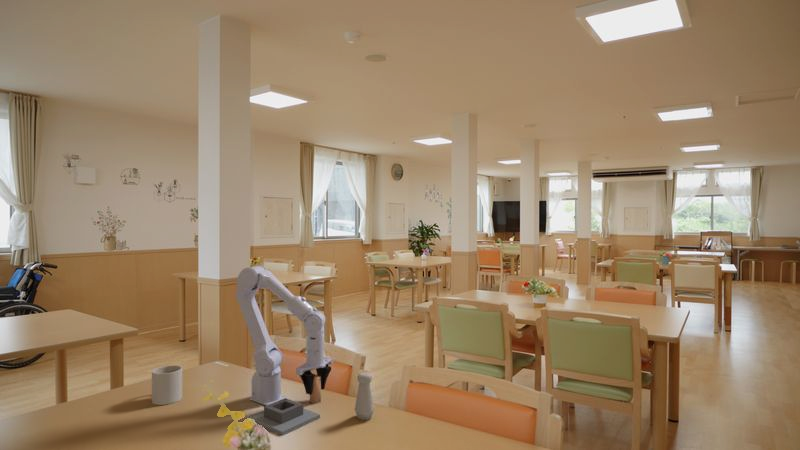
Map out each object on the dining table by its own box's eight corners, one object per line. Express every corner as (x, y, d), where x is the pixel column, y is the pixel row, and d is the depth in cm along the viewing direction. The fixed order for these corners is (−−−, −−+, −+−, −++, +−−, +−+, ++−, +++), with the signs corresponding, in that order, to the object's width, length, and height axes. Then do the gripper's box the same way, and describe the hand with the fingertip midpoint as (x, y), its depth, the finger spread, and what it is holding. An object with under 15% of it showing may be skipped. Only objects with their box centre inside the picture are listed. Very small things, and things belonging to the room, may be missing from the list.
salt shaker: (371, 422, 132) (371, 377, 132) (352, 420, 133) (352, 376, 133) (376, 414, 137) (376, 371, 137) (358, 412, 138) (358, 369, 138)
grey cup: (173, 405, 144) (173, 373, 144) (144, 405, 144) (143, 373, 144) (190, 392, 155) (190, 363, 155) (162, 392, 155) (162, 363, 155)
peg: (307, 401, 147) (307, 377, 147) (315, 398, 150) (315, 374, 150) (315, 404, 145) (315, 379, 145) (323, 400, 148) (323, 376, 148)
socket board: (246, 420, 133) (246, 406, 133) (284, 405, 144) (284, 392, 144) (282, 435, 123) (282, 420, 123) (320, 417, 135) (320, 404, 135)
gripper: (306, 356, 139) (306, 401, 139) (339, 346, 151) (339, 387, 151) (291, 353, 143) (291, 396, 143) (324, 343, 155) (324, 382, 155)
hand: (315, 391), depth 147 cm, fingers open, 5 cm apart
